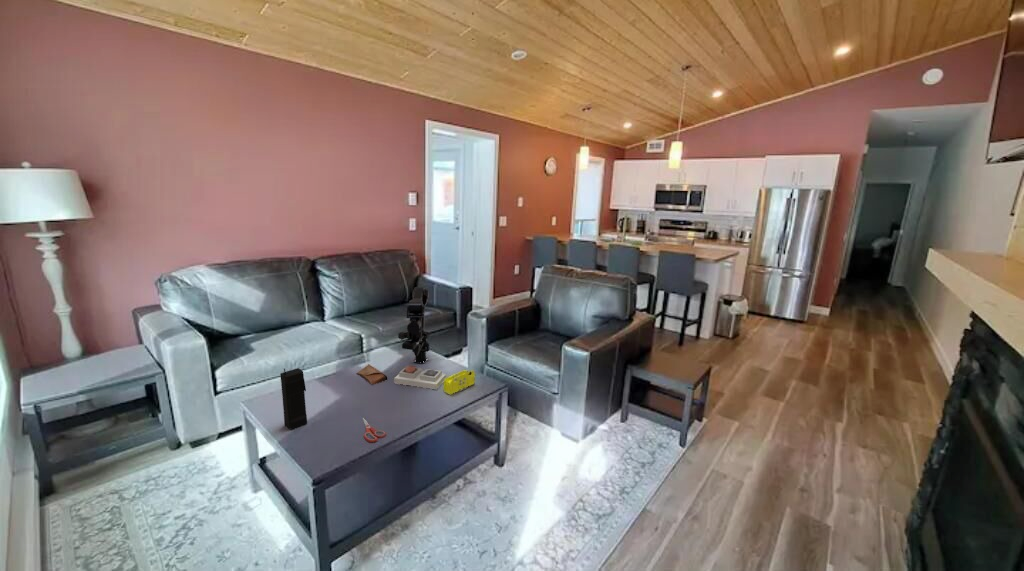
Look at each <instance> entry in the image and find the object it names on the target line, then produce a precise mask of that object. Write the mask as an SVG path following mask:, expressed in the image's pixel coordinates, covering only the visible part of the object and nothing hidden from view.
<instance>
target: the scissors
mask: <svg viewBox="0 0 1024 571" xmlns="http://www.w3.org/2000/svg"><path fill="white" fill-rule="evenodd" d="M362 420H363V423H364V426H365V431H366V432H365V433H364V434H363V438H364V440H366V442H368V443H371V442H373V443H376V442H377V441H378V440H379V439H382V438H385V437H386V436H387V433H386V432H385V431H384V430H381V429H380V430H377V429H375V428H374V427H373V426H371V425H370V424H369V423H368V421H367V420H366V419H365V418H364V417H362ZM368 434H370V435H368ZM379 434H381V435H379ZM368 436H370V437H371V439H370V438H369V437H368ZM373 438H374V439H373Z"/></svg>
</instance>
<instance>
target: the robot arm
mask: <svg viewBox="0 0 1024 571" xmlns="http://www.w3.org/2000/svg"><path fill="white" fill-rule="evenodd" d="M429 293H430V292H429V290H428V289H426V288H425V287H423V286H416V287H414V288H413V290H412V296H411V297H412V299H410V300H409V301H408V304H407V306H406V319H409V321H408V324H407V327H406V329H407V330H403V331H400V332H398V334H397V335H398V336H397V338H398V339H399V340H404V339H407V340H405V341H404V342H403V343H401V349H404V350H411V351H412V353H413V354H414V356H415V358H414V360H416V362H419V363H418V364H424V363H423V361H424V362H425V361H426V359H427V358H428V357H427V353H428V352H430V343H429V341H428V339H429V338H430V337H431V335H430V332H429V331H427V330H426V331H425V316H426V315H425V314H426V313H425V310H426V306H427V303H428V300H429V299H430V294H429ZM416 362H415V363H416ZM420 362H421V363H420ZM426 362H427V361H426ZM426 362H425V363H426Z"/></svg>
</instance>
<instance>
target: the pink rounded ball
mask: <svg viewBox="0 0 1024 571" xmlns="http://www.w3.org/2000/svg"><path fill="white" fill-rule="evenodd" d="M406 366H407V367H406ZM406 366H405V367H406V373H412V374H413V373H414V372H415V367H416V366H414V365H406Z"/></svg>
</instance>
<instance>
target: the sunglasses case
mask: <svg viewBox="0 0 1024 571" xmlns="http://www.w3.org/2000/svg"><path fill="white" fill-rule="evenodd" d="M355 375H358V376H359V377H361V378H362V379H364V380H365V381H366V382H368V383H369V384H370V385H372V386H374V385H376V383H377V384H380V383H383V382H386V381H385V380H387V381H388V376H387V375H386V374H385V373H383V372H381V371H380V370H379V369H378V368H375V367H374V366H372V365H371V364H369V363H368V364H367V365H366V366H364V367H363V368H362V369H361V370H359V371H358V372H356V373H355ZM382 381H383V382H382ZM379 382H380V383H379ZM373 384H374V385H373Z"/></svg>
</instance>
